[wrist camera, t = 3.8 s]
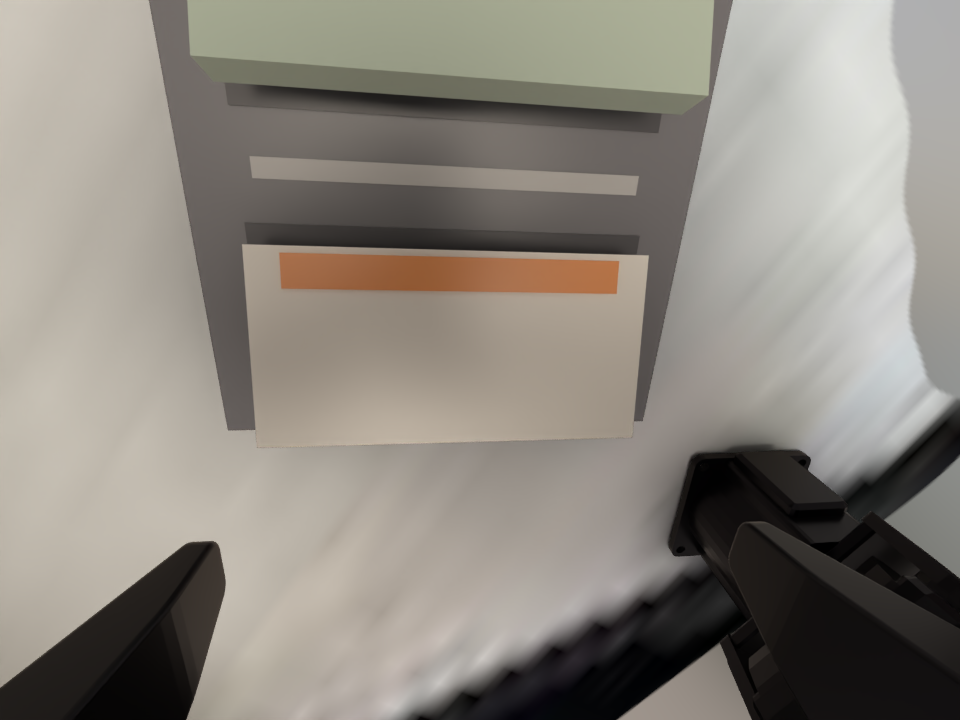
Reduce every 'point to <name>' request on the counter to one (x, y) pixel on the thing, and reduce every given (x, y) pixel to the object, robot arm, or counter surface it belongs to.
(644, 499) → the counter surface
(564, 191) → the rocker switch panel
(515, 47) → the green rocker
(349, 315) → the plate
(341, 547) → the counter surface
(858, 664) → the robot arm
